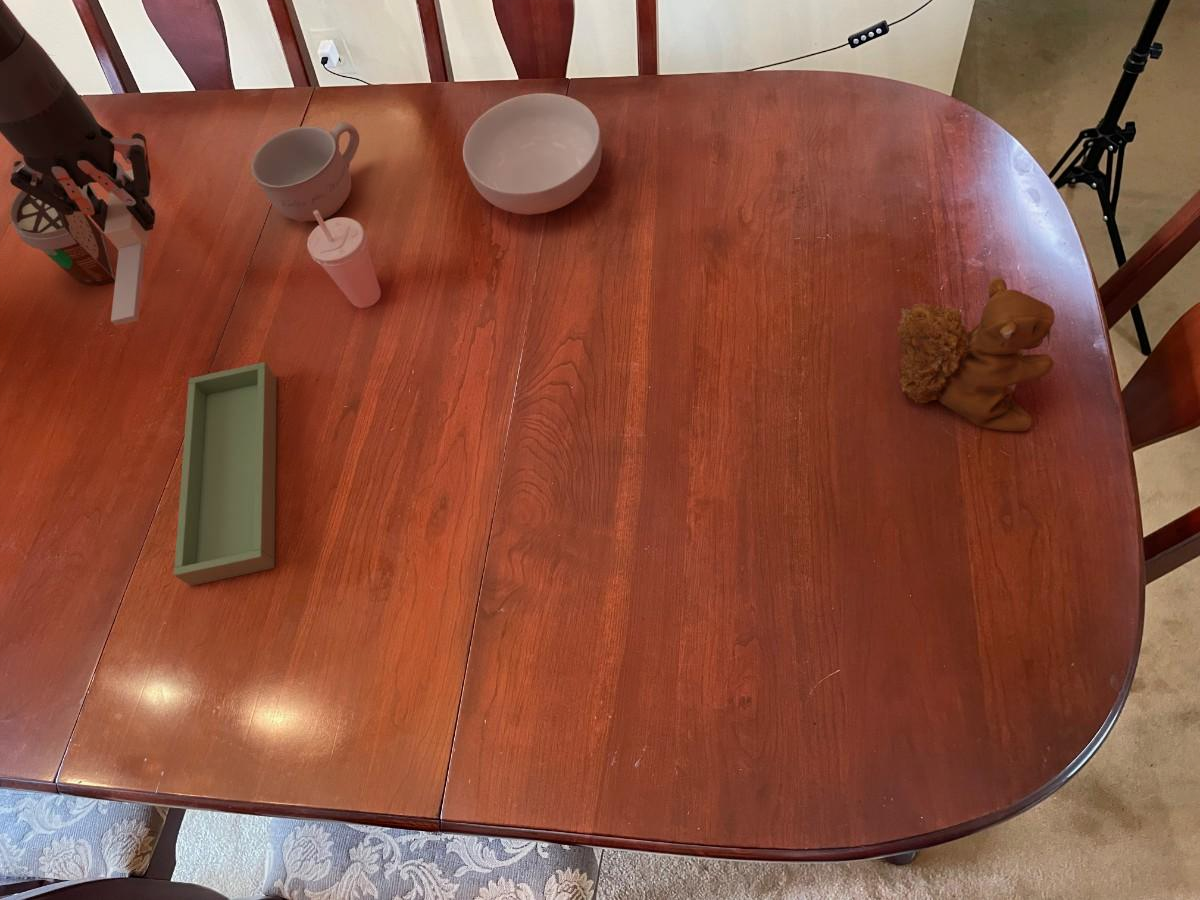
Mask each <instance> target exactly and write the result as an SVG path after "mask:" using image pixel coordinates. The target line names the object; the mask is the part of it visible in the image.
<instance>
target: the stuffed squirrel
mask: <svg viewBox="0 0 1200 900" xmlns="http://www.w3.org/2000/svg"><path fill="white" fill-rule="evenodd" d="M1007 288H1008V287H1007V282H1006V281H1005V280H1004V279H1003V278H1002V277H994V278H992V279H991V280H990V283H989V285H988V297H989V299H988V300H987V302H986V304H985V305H984V307H983V310H982V313H981V318H980V322H979V323H978V325H977V324H976V326H975V327H974V328H972V330H971V331H968V332H967V329H966V326H965V325H964V324H963V322H962V312H960V308H959V307H956V306H953V307H952V308H950V307H947V306H946V307H941V306H939V305H936V306H931V305H930V304H927V303H925V302H922V303H919V304H916V303H914V304H913V306H914V307H911V308H910V309H906V308H904V307H902V308H900V311H901V316H902V317H901V319H900V320H898V323H899V325H898V326H897V328H896V333H897V334H896V337H897V339H898V341H899V344H900V348H901V350H902V351H904V353H903V354H904V355H903V356H902V357H900V358H899V360H900V363H899V367H900V370H901V371H900V373H901V379H900V380H899V381H898V383H900V386H901V392H902V393H904V394H906V395H907V397H908V398H909V399H912V400H913V401H914V403H917V404H922V405H923V404H927V403H930V402H932V401H936V400H937V401H938V402H939V404H941V405H942V406H945V407H947V409H950V410H951V411H953V412H954V413H956V414H958V415H959V416H961V417H962V418H964V419H966V420H968V421H969V422H970V423H972V424H973V425H974V426H977V427H980V428H985V429H988V430H996V431H1001V432H1002V431H1004V432H1020V433H1021V432H1025V431H1027V430H1029V428H1030V427H1031V424H1032V418H1031V416H1030V415H1029V413H1028V412H1027V411H1026V410H1025V409H1024V408H1023V407H1022V406H1020V405H1019V404H1018V403H1017V402H1015V401H1014V400H1013V399H1012V396H1013V393H1014V391H1015V390H1016V389H1015V388H1016V385H1019V384H1023V383H1027V382H1031V381H1035V380H1038V379H1041V378H1043V377H1044V376H1046V375H1048V374H1049V373H1050V372H1051V371H1052V370H1053V369H1054V367H1055V361H1054V360H1053V358H1052V356H1051V355H1048V354H1024V352H1025V350H1027V351H1028V350H1033V349H1037V348H1038V347H1040V346H1041V345H1042V344H1043V343H1044V339H1045V338H1047V351H1048V352H1049V351H1052V350H1053V349H1052V345H1051V344H1052V331H1051V329H1052V326H1054V323H1055V317H1056V315H1055V310H1054V309H1053V308H1052V306H1050V305H1049V304H1047V303H1045V302H1043V301H1041V300H1039V299H1037V298H1035V297H1033V296H1031V295H1029V294H1026V293H1023V292H1022V291H1021V290H1020V291H1019V290H1017V289H1012V288H1011V289H1007Z"/></svg>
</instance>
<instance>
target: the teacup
mask: <svg viewBox="0 0 1200 900" xmlns="http://www.w3.org/2000/svg"><path fill="white" fill-rule="evenodd" d="M345 132H347V133H348V134H349V141H348V144H347V146H346V149H345V150H344V152H343V153H342V152H341V151H340V137H341V135H342V134H344V133H345ZM359 145H360V134H359V131H358V130H357V127H355V126H354V125H352V124H351V123H349V122H347V121H346V122H345V121H341V122H338V123H336V124H335V125H334V126H333V127H332V128H331V130H330V132H329V131H328V130H326V128H325V129H324V128H322V127H320V126H319V127H318V126H314V125H302V126H297V127H296V126H295V127H292V128H288V129H286V130H283V131H281V132H278V133H277V134H275V135H273V136H272V137H270V138H269V139H268V140H266V141H265V142H264V143H263V144H262V145H261V146H260V147H259V148H258V149H257V151H255V154H254V155H253V158H252V160H251V164H250V169H251V174H252V177H253V179H254V180H255V181H256V182H257V184H259V186H260V187H261V189H262V190H263V192H264V194H265V195H266V196H267V198H268V200H269V202H271V204H272V205H273V207H274V208H275V209H276V210H277V211H278V212H279V213H280V214H281V215H283V216H285V217H286V218H288V219H290V220H293V221H297V222H318V221H317V219H316V217H315V215H314V214H313V212H314V211H315V210H318V212H319V213H320V215H321V217H322V219H323V220H324V219H327V218H329V217H331V216H332V215H334V214H336V213H337V212H338V211H339V210H340V209H341V208H342V206H343V205H344V203H345V202H346V200H347V199H348V197H349V195H350V192H351V188H352V177H351V173H350V170H349V169H350V165H351V162H352V160H353V158H354V157H355V155H356V153H357V151H358V149H359Z"/></svg>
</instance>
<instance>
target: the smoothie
mask: <svg viewBox="0 0 1200 900" xmlns="http://www.w3.org/2000/svg"><path fill="white" fill-rule="evenodd" d="M313 214H314V215H315V217H316V219H317V221H316V222H317V223H318V224H319V225H317V226H316V227H315V228H313V230H312V231H311V233H310V234H309V236H308V238H307V242H306V246H307V251H308V253H309V254H310V257H311V258H312V259H313V261H314V262H316V263H317V264H319V265H320V266H321V267H322V268H323V269H324V271H325V272H326V273H327V274H328V276H329V277H330V278H331V279H332V281H333V282H334V283H335V284H336V285H337V287H338V288H339V290H341V293H343V294H344V295H345V297H346V298H347V299H348V300H349V302H350V303H351V304H352V305H353V306H354V307H356V308H359V309H366V308H370V307H372V306H373V305H375V304H376V303H377V302H378V301H379V300H380V298H381V295H382V291H381V288H380V284H379V282H378V278H377V274H376V271H375V269H374V265H373V262H372V259H371V258H372V257H371V255H370V252H369V249H368V245H367V239H368V237H367V233H366V231H365V230H364V228H363V226H362V224H360V222H359V221H357V220H355V219H353V218H350V217H343V216H342V217H341V216H340V217H333V218H330V219H326V220H325V221H324V219H322V217H321V215H320V213H319V212H318V210H315V211H314V212H313Z"/></svg>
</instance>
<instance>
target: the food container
mask: <svg viewBox="0 0 1200 900" xmlns="http://www.w3.org/2000/svg"><path fill="white" fill-rule="evenodd" d="M48 177H49V176H48ZM50 178H51V177H50ZM52 179H53V178H52ZM53 180H55V181H57V182H58V183H60V181H58V180H56V179H53ZM60 184H61V183H60ZM53 194H54V193H53ZM54 195H56V194H54ZM56 196H57V195H56ZM57 197H59V196H57ZM59 198H61V197H59ZM61 199H62V198H61ZM11 203H12V204H11V207H10V211H9V212H10V220H11V224H12V226H13V228H14V230H15V231H16V232H15V233H17V235H18V237H19V238H20V239H21V241H22V242H23V243H24V244H25V245H26V246H29V247H31V248H34V249H37V250H41V251H42V252H43V253H44V254H45V255H46V256H48V257H49V258H50V259H51V260H52V261H53V262H54V263H55V264H57V265H58V266H59V267H60V268H61V269H62V270H63V271H65V272H66V273H67V274H68V275H69V276H70V277H71V278H73V280H75V281H76V282H77V283H79V284H82V285H85V286H102V285H106V284H109V283H113V282H115V280H116V276H115V274H114V270H113V267H112V263H111V260H110V256H109V253H108V249H107V245H106V241H105V238H104V235H103V234H104V233H103V232H102V230H101V229H100V228H99V227H98V225H97V224H96V223H95V222H94V221H93V219H92V218H91V217H90V216H89V215H85V214H83V213H82V212H74V213H73V214H72V215H65V214H63V213H61V212H60V211H58V210H56V209H54V208H53V207H51V206H49V205H47V204H45V203H44V202H42V201H40V200H38V199H37V198H35V197H33V196H31V195H29V194H28V193H26V192H24V191H22V190H21V189H20V191H18V193H17V194H16V195H15V197H14V199H13V201H12V202H11Z"/></svg>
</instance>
